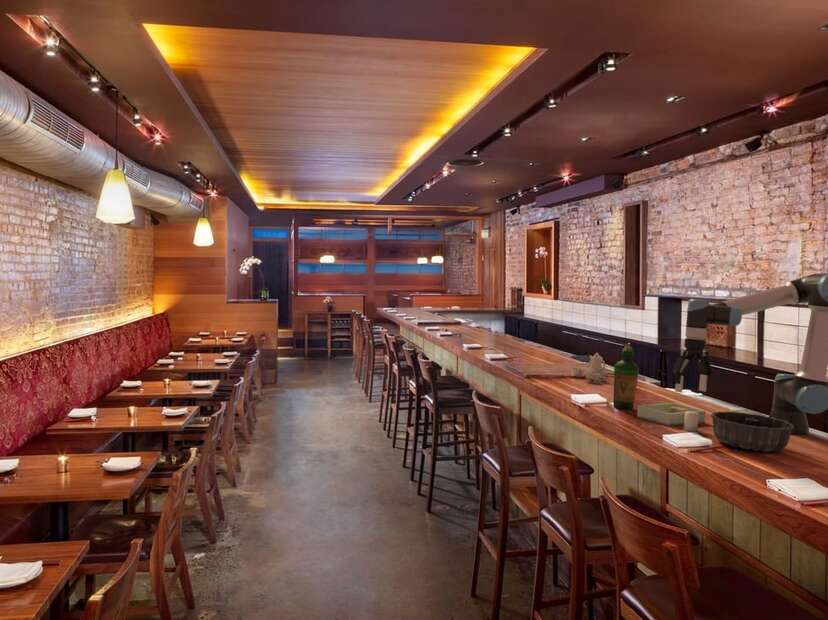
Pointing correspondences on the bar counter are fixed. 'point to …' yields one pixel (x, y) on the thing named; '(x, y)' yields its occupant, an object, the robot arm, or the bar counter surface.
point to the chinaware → (592, 369)
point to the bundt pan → (751, 431)
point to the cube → (676, 409)
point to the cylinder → (691, 421)
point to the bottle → (625, 380)
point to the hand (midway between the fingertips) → (690, 391)
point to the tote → (666, 414)
